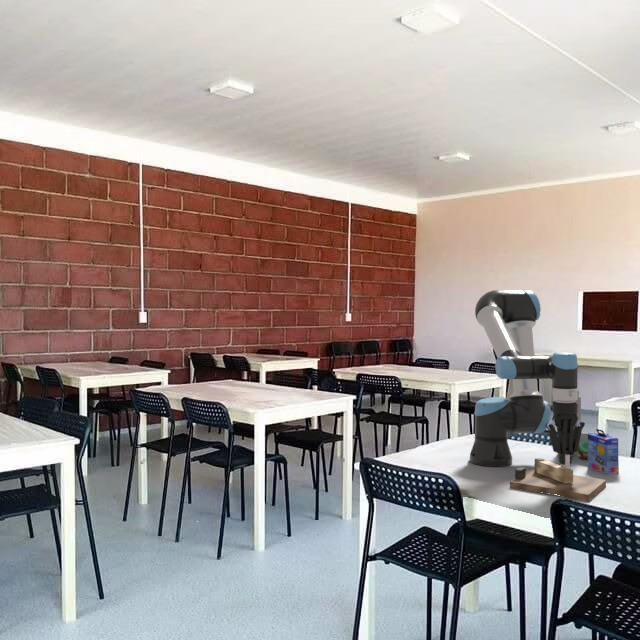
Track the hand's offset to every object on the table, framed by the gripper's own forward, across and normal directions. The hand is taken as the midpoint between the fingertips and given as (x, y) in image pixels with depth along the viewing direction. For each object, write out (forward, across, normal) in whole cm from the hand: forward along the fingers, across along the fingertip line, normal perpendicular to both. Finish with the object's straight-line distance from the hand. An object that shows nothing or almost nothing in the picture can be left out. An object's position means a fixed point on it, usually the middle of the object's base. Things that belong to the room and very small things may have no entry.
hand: (565, 474), depth 212 cm
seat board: (+4, -3, 0) cm, 5 cm away
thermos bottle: (+5, +28, +40) cm, 48 cm away
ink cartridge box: (+5, +24, +14) cm, 28 cm away
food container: (+5, +29, +28) cm, 41 cm away
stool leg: (+2, -3, +3) cm, 5 cm away
